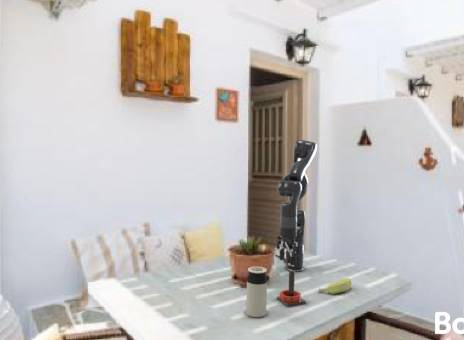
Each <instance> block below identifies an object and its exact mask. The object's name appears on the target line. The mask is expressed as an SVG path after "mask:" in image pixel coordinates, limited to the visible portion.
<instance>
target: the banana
mask: <svg viewBox="0 0 464 340" xmlns="http://www.w3.org/2000/svg"><path fill="white" fill-rule="evenodd" d="M352 287H353V283H352V279H351V278H350V277H346V276H345V277H343V278H341V279H340V280H338V281H334V282H331V283H330V284H328V285H327V286H326V287H325V288H318V293H323V292H327V293H329V294H332V295H337V294H341V293H343V292H346V291H349V289H351V288H352Z"/></svg>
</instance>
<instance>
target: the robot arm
mask: <svg viewBox="0 0 464 340" xmlns="http://www.w3.org/2000/svg"><path fill="white" fill-rule="evenodd" d="M317 151H318V144H317V142H315V141H311V140H306V139H299V138H298V139H297V140H296V141H295V142H294V146H293V152H292V153H293V154H292V155H293V156H292V164H291V166H290V168H289V170H288V172H287V173H286V174H285V175H284V176H283V177H282V178H281V179H280V180H279V182H278V184H277V187H276V191H277V193H278V195H280V196H281V197H288V199H287V201H283V202H281V204H280V216H279V217H280V218H279V235H277V238H276V249H277V250H278V252H279V254H276V256H275V257H277V258H278V259H279V260H280V261H284V263H285V269H286V270H287V271H288V272H289V271H294V272H295V273H296V272H297V273H298V272H302V271H304V252H305V251H304V249H305V248H304V247H305V228H306V212H305V210H303V209H298V204H299V202H301V200H302V199H303V198H304V197H305V196H306V194H307V192H308V187H309V179H308V176H307V174H306V171H307V170H308V168H309V167H310V165H311V164H312V162H313V161H314V159H315V157H316V155H317ZM285 250H286V251H285Z"/></svg>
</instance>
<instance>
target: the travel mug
mask: <svg viewBox="0 0 464 340" xmlns="http://www.w3.org/2000/svg"><path fill="white" fill-rule="evenodd" d="M247 271H248V274H247V276H246V302H245V303H246V304H245V305H246V307H245V308H246V309H245V313H246V315H247V316H249V317H251V318H263V317H264V316H266V315H267V299H268V298H267V297H268V295H267V294H268V276H267V271H268V269H267V268H265V267H263V266H250V267H248V268H247Z"/></svg>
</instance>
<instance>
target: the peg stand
mask: <svg viewBox="0 0 464 340" xmlns="http://www.w3.org/2000/svg"><path fill="white" fill-rule="evenodd" d="M295 274H296V272H294V271H289V270H288V289H287V290H288V295H286V296H291V297H292V296H294V291H295ZM276 300H277V301H278V302H280V303H281V304H282V305H284V306H286V307H287V308H289V307H295V306H300V305H305V304H306V302H307V301H306V300H305V299H303V298H302V297H301V298H300V300H299V301H296V302H287V301H283V300H282V299H280V298H279V296H276Z"/></svg>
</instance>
